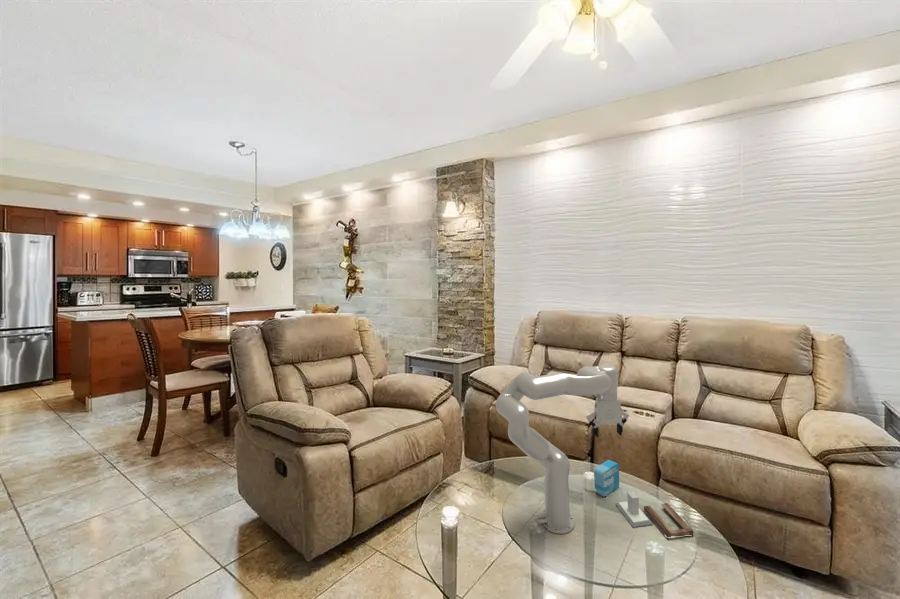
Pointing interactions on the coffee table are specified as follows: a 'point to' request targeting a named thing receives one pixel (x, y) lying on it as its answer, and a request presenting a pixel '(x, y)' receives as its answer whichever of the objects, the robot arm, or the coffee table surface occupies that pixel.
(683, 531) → the brown u-shaped frame
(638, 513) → the cover plate
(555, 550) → the coffee table surface
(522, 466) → the coffee table surface
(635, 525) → the felt pad
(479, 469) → the coffee table surface
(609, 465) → the data package
